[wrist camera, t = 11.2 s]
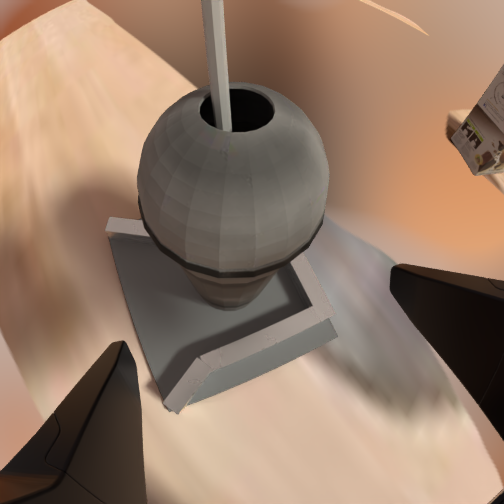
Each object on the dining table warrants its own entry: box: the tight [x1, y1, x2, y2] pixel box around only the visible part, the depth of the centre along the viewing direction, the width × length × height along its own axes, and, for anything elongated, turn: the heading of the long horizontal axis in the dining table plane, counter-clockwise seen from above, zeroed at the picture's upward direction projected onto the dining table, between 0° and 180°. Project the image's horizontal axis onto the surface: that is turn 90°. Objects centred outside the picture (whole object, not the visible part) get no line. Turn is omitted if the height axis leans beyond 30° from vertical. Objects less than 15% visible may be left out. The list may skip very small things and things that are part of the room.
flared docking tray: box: [105, 217, 336, 414], centre depth 21 cm, size 13×15×2 cm
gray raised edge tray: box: [108, 219, 338, 412], centre depth 22 cm, size 13×14×1 cm
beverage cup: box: [137, 0, 329, 311], centre depth 13 cm, size 7×7×20 cm
